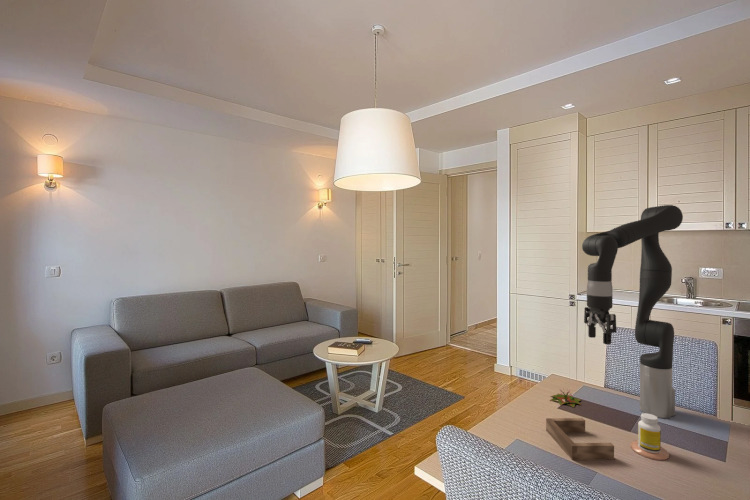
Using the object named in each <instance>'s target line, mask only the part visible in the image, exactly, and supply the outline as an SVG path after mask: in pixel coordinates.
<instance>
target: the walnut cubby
mask: <svg viewBox="0 0 750 500" xmlns="http://www.w3.org/2000/svg"><path fill="white" fill-rule="evenodd" d="M545 430H546V432H547V434H548V435H550V437H551V438H552V439H553V440H554V441H555V442H556V443H557V445H558V446H559V447H560V448H561V449H562V450H563V451H564V452H565V454H567V456H568V457H569V459H571V460H572V461H573V460H574V461H575V460H577V461H579V460H582V461H583V460H585V461H586V460H590V461H591V460H593V461H594V460H615V445H614V444H613V443H612V442H574V441H573V439H571V438H570V437H569V436H568V435H567V433H568V434H569V433H570V434H571V433H572V434H573V433H575V434H576V433H578V434H579V433H581V434H582V433H583V434H584V433H586V420H585V419H584V418H582V417H581V418H579V417H576V418H575V417H573V418H569V417H567V418H566V417H561V418H560V417H559V418H554V417H552V418H545Z"/></svg>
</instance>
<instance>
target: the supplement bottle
mask: <svg viewBox="0 0 750 500" xmlns="http://www.w3.org/2000/svg"><path fill="white" fill-rule="evenodd" d="M658 418H659V417H656V416H655V415H652V414H648V413H644V412H642V413H641V414H640V420H639V421H638V423H637V441H638V446H639V447H640V448H641V449H642V450H644V451H646V452H650V453H659V452H660V449H661V447H662V445H661V443H662V441H661V440H662V439H661V435H662V431H661V426H660V425H659V424H658V423H659V419H658Z"/></svg>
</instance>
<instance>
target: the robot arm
mask: <svg viewBox="0 0 750 500" xmlns="http://www.w3.org/2000/svg"><path fill="white" fill-rule="evenodd" d="M683 217H684V216H683V212H682V210H681V209H680V207H678V206H676V205H673V204H669V205H668V204H667V205H666V204H664V205H659V206H651V207H647V208H645V209H643V211H642V212H641V215H640V219H639V220H635V221H631V222H627V223H624V224H621V225H619V226H616V227H614V228H612V229H610V230H607V231H603V232H598V233H594V234H592V235H589V236H587V237H586V238H585V239H584V240H583V242H582V244H581V245H582V246H581V249H582V251H583V252H584V253H585V254H586V255H588V256H592V257H598V259H597V262H592V263H590V264H588V267H587V283H586V284H587V285H586V307H584V315H583V324H585V325H586V326H587V328H588V329H587V333H588V337H589V338H596V336H597V335H596V334H597V333H596V332H597V331H596V330H597V328H596V326H597V324H598V325H599V327H600V328H601V329H602V332H603V333H602V335H603V336H602V337H603V338H602V340H603V341H602V342H603V344H605V345H611V344H612V334H614V333H617V315H616V314H615V313H611V314H610V310H611V309H612V308H613V283H612V280H613V278H612V277H613V275H612V274H613V273H612V269H613V266H614V264H615V260H616V257H617V255H618V250H619V249H621V248H623V247H625V246H628V245H631V244H633V243H634V242H636V241H639V240H640V241H641V250H640V251H641V254H640V255H641V256H640V257H641V258H640V267H639V268H640V269H639V293H638V307H637V312H636V318H635V319H636V320H635V326H634V337H635V340H636V343H638V344H640V345H646V346H650V347H654V348H655V347H656V348H659V351H657V352H651V353H650V352H649V353H643V354H641V355H640V357H639V358H640V359H639V410H640V411H641V412H642V413H648V414H652V415H655V416H656V417H657V418H661V419H668V418H669V419H670V418H671V417H672V416H673V417H675V416H676V390H675V388H674V387H673V361H674V360H673V359H674V342H675V329H674V326H673V324H672V323H671V322H666V321H659V320H652V319H650V318H651V317H650V316H651V313H652V310H653V308H654V307H655V305H656V304H657V303H658V302H659V300H660V299H662V297H664V295H665V294H666V293H667V292H668V291H669V289H670V288H671V286H672V278H673V267H672V264H671V262H670V260H669V259H668V257H667V256H666V254H665V253H664V251H663V249H662V248H661V245H660V241H659V240H660V239H659V233H662V232H666V231H667V232H668V231H672V230H676V229H678V228H679V227H680V226H681V225H682V222H683Z"/></svg>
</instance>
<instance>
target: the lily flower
mask: <svg viewBox="0 0 750 500" xmlns="http://www.w3.org/2000/svg"><path fill="white" fill-rule="evenodd" d="M562 389H563V390H562ZM562 389H561V388H560V389H559V391H560V393H557V394H553V395H551V397H553V398H551V399H550V401H552V402H555V401H556V403H557V402H558V403H559V406H562V405H564V404H565V405H567V406H569V407H572V408H575V405H576V404H578V405H581V406H582V403H580V401H581V399H580V398H578V397H573V396H572V393H571V392H570V390H568V389H567V390H566V392H565V390H564V388H562ZM569 393H570V394H569ZM554 400H555V401H554ZM569 403H570V404H569Z"/></svg>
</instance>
